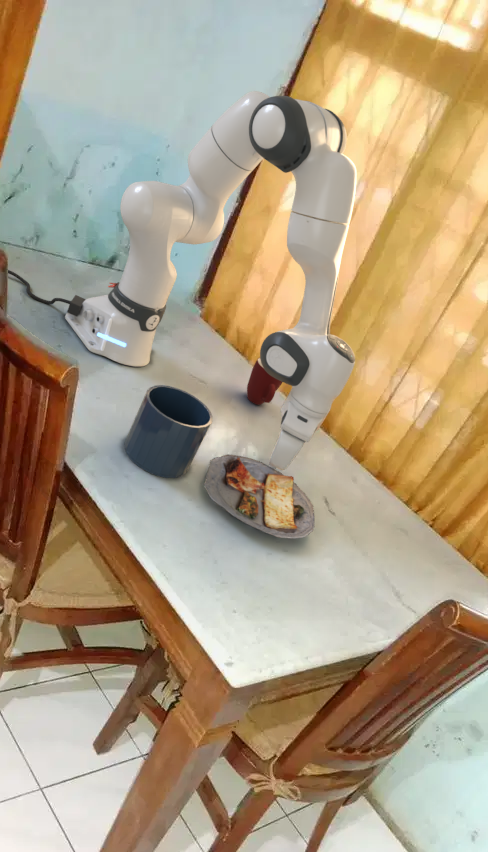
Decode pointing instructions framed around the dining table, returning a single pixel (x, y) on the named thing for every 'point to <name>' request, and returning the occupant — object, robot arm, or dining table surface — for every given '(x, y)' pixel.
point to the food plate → (260, 496)
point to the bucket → (167, 431)
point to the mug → (261, 385)
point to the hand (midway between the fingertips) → (272, 464)
